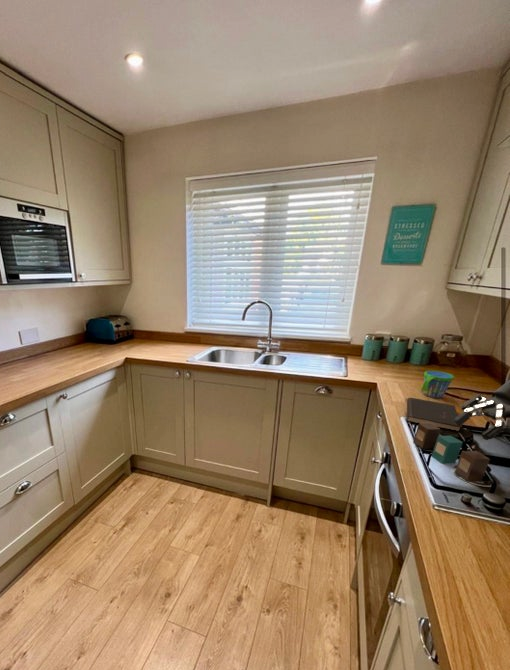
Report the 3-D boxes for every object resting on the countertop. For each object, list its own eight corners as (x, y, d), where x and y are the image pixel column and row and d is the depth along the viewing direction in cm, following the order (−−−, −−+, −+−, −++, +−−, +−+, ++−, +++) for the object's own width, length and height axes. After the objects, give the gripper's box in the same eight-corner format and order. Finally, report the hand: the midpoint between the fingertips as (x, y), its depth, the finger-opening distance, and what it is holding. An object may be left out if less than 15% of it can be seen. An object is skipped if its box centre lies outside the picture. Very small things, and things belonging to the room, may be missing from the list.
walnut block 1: (424, 446, 103) (431, 423, 100) (433, 452, 100) (441, 429, 97) (411, 446, 103) (418, 423, 100) (420, 453, 99) (427, 429, 96)
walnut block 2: (466, 476, 88) (476, 450, 85) (479, 485, 84) (490, 459, 82) (452, 477, 88) (461, 450, 85) (464, 486, 84) (474, 459, 81)
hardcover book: (452, 410, 131) (454, 405, 131) (460, 432, 113) (462, 426, 112) (406, 402, 139) (408, 397, 138) (406, 421, 120) (407, 415, 120)
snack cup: (430, 401, 140) (437, 379, 136) (409, 393, 149) (414, 371, 145) (456, 398, 145) (464, 376, 141) (434, 390, 154) (440, 369, 150)
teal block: (442, 459, 96) (450, 435, 93) (453, 467, 92) (463, 442, 89) (429, 460, 96) (437, 435, 93) (440, 468, 92) (449, 442, 89)
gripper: (556, 409, 82) (499, 451, 85) (501, 390, 95) (453, 427, 98) (546, 390, 80) (488, 434, 82) (491, 373, 93) (442, 411, 96)
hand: (469, 430), depth 90 cm, fingers open, 8 cm apart
